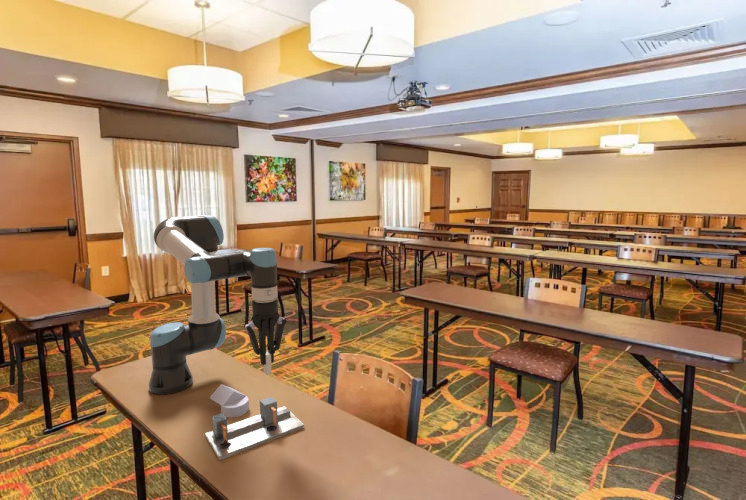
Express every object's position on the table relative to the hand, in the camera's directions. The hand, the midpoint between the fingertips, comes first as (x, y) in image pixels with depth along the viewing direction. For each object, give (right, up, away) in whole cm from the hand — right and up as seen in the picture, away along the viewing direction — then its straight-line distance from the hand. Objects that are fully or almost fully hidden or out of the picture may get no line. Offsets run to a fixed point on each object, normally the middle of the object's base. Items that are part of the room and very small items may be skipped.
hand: (267, 373), depth 128 cm
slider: (+1, -16, +2) cm, 16 cm away
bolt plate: (-4, -18, -1) cm, 18 cm away
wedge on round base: (-16, -16, +14) cm, 26 cm away
